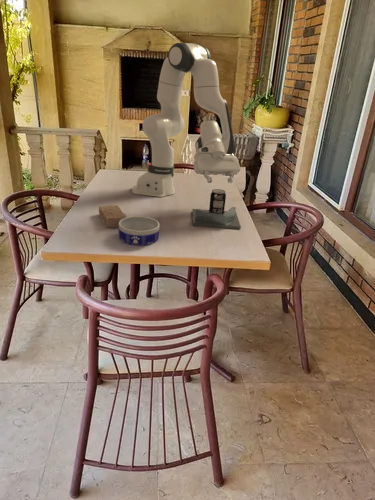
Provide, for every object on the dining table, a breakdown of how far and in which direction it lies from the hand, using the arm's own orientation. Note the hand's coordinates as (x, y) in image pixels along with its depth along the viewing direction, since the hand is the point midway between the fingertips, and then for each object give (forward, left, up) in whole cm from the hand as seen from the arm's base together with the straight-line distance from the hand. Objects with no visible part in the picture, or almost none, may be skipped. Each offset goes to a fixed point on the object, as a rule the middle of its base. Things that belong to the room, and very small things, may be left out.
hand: (220, 182), depth 158 cm
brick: (-44, -7, -18) cm, 48 cm away
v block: (0, +1, -17) cm, 17 cm away
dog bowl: (-31, -23, -18) cm, 42 cm away
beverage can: (0, +1, -16) cm, 16 cm away
